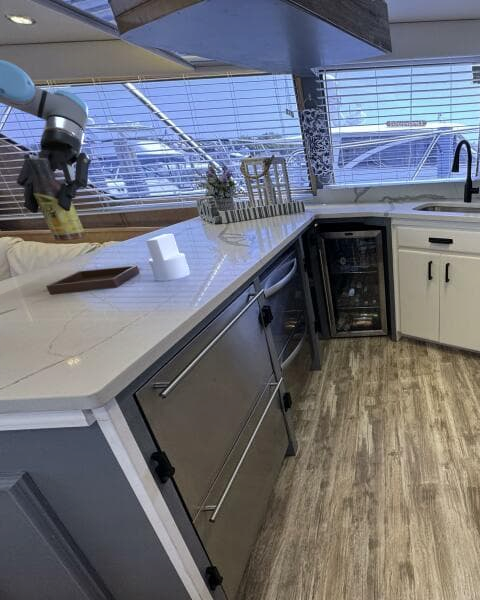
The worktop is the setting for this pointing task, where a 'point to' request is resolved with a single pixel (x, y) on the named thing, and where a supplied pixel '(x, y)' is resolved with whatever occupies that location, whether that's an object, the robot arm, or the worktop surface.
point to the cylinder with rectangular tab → (166, 258)
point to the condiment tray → (93, 280)
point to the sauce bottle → (53, 202)
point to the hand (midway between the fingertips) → (47, 208)
